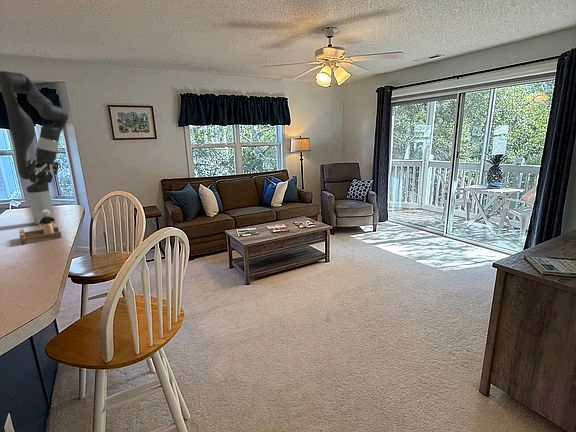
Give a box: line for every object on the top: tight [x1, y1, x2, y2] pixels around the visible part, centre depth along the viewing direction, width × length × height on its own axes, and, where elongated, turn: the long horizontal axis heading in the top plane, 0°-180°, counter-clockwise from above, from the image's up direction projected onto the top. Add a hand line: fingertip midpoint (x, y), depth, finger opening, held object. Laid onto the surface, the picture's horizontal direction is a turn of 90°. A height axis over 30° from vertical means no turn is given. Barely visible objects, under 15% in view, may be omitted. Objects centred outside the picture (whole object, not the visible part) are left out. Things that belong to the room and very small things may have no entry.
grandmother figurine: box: [37, 210, 58, 234], centre depth 142 cm, size 8×4×13 cm, turn 168°
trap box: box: [18, 226, 63, 246], centre depth 141 cm, size 13×14×4 cm
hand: (40, 182), depth 145 cm, fingers open, 8 cm apart
